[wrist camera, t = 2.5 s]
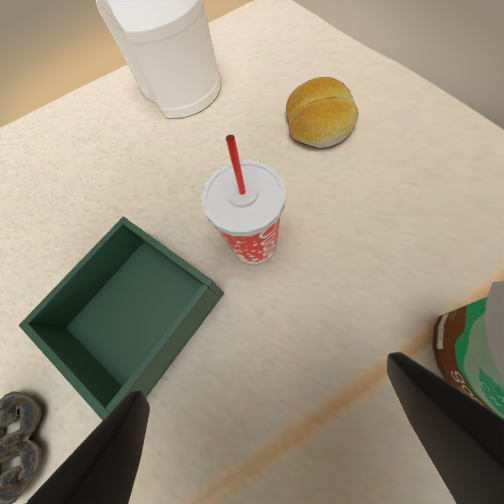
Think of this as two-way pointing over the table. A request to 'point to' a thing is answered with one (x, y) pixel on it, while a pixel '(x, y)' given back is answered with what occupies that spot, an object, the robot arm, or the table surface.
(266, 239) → the beverage cup
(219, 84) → the jar
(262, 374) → the table surface
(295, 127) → the bread roll
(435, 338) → the food container
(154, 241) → the square green tray
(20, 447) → the corroded twin loop
